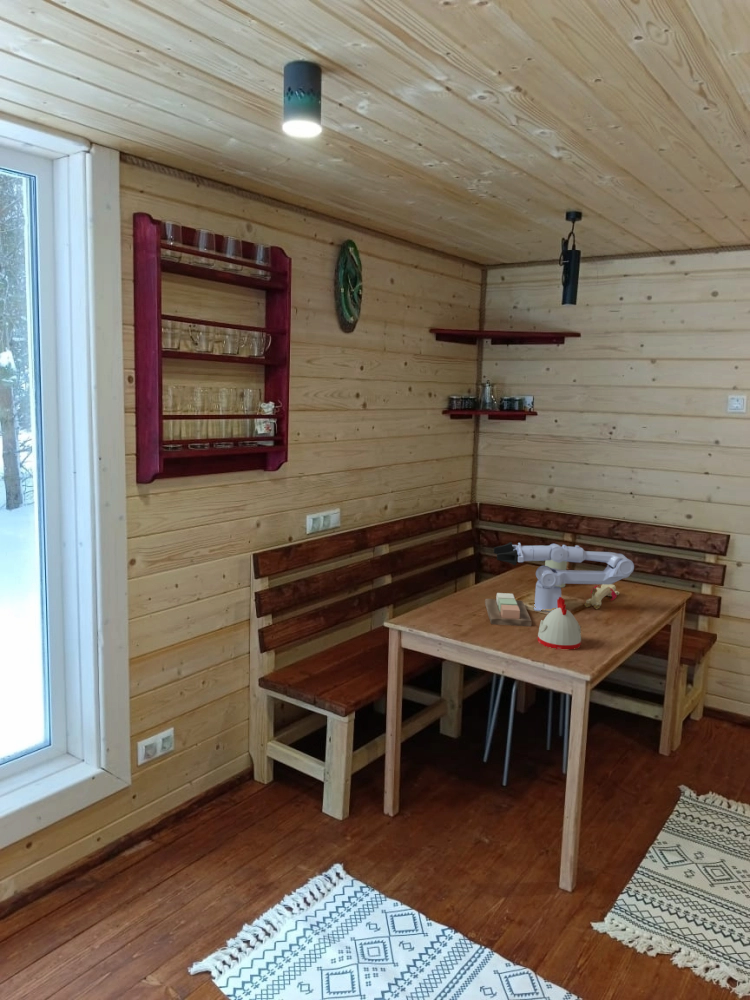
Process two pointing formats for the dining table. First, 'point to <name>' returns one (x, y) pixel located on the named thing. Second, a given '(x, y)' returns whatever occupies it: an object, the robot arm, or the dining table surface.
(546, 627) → the kitchen timer
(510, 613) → the terracotta button
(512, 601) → the sage button
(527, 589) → the dining table surface
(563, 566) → the pale green cup
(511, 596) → the cream button
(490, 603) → the brown tray
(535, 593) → the robot arm
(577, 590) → the dining table surface
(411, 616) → the dining table surface
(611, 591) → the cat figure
